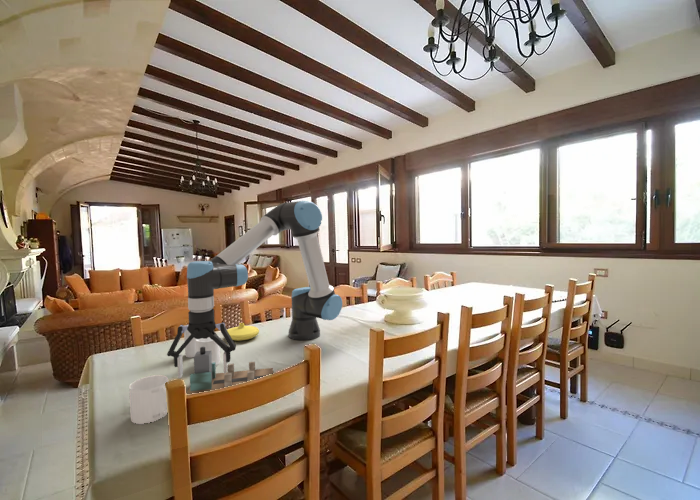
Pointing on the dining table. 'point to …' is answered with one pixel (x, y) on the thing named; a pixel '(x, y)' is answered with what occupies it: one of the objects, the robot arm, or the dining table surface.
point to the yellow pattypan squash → (243, 332)
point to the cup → (209, 348)
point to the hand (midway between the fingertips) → (203, 374)
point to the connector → (203, 361)
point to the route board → (224, 378)
